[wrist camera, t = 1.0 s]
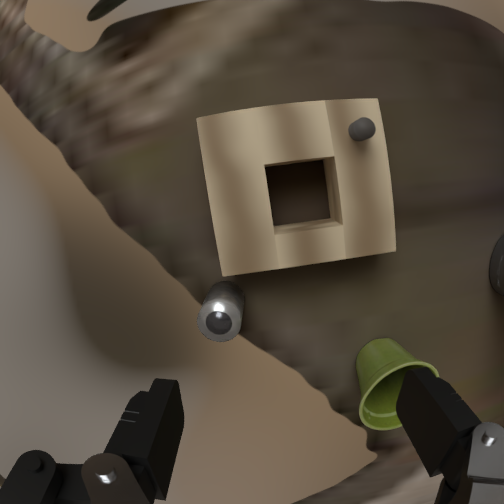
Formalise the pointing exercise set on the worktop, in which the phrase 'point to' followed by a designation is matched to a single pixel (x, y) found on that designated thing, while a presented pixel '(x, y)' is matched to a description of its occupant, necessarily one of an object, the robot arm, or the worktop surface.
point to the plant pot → (383, 381)
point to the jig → (295, 151)
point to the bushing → (222, 312)
